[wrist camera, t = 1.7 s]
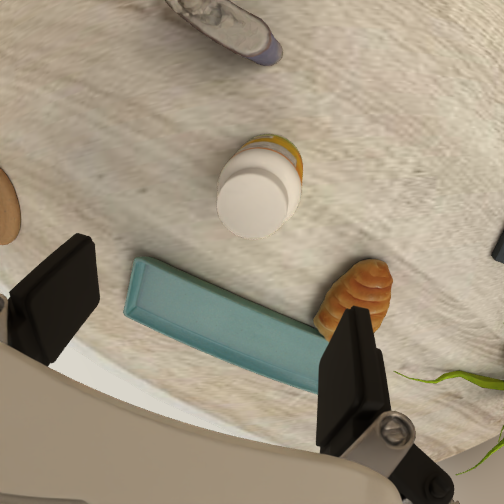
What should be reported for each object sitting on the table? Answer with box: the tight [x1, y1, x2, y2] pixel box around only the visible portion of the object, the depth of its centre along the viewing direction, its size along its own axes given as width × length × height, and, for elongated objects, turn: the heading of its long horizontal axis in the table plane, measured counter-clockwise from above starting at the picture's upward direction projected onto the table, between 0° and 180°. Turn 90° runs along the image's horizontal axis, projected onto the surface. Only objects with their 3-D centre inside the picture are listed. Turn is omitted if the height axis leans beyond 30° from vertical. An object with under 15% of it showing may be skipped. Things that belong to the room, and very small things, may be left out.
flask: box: [165, 0, 283, 66], centre depth 16 cm, size 9×3×11 cm, turn 44°
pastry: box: [313, 259, 393, 342], centre depth 29 cm, size 9×7×4 cm
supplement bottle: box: [216, 134, 303, 240], centre depth 22 cm, size 5×5×10 cm
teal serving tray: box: [123, 257, 329, 395], centre depth 34 cm, size 26×9×2 cm, turn 66°
